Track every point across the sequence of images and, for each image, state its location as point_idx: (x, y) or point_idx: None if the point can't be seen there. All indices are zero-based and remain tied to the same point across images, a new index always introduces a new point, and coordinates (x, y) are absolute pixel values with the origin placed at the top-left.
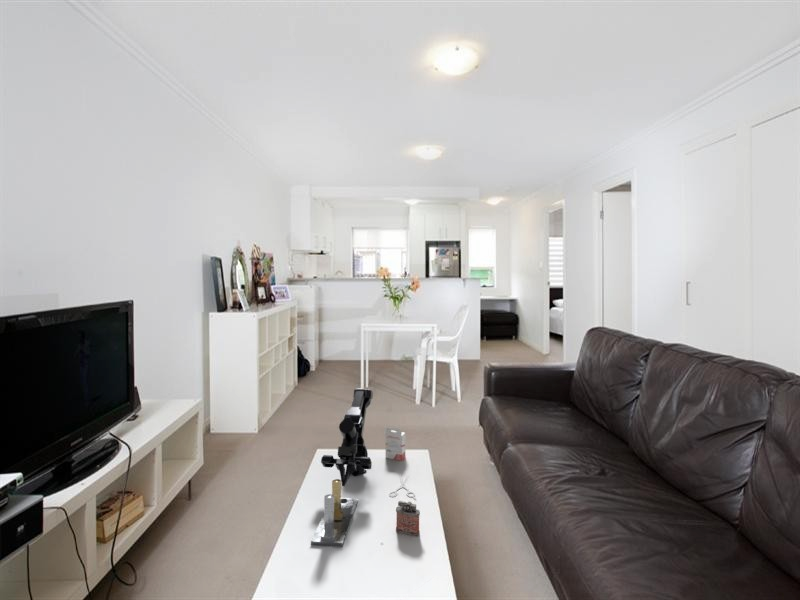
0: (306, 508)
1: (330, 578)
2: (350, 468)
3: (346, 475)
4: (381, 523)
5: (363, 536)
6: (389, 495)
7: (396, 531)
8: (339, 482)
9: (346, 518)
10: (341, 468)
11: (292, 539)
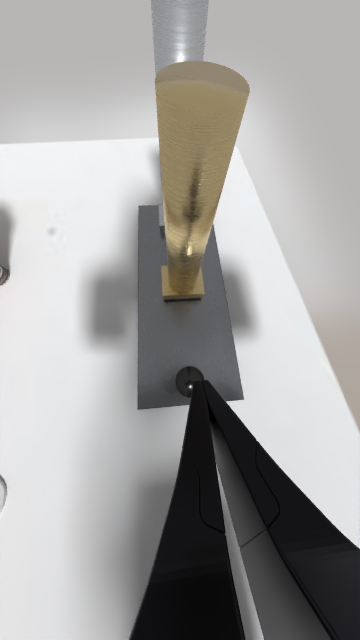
0: (293, 335)
1: (142, 157)
2: (143, 612)
3: (194, 449)
4: (50, 299)
5: (98, 247)
6: (2, 487)
7: (7, 271)
8: (164, 70)
9: (151, 286)
10: (325, 567)
11: (253, 223)
